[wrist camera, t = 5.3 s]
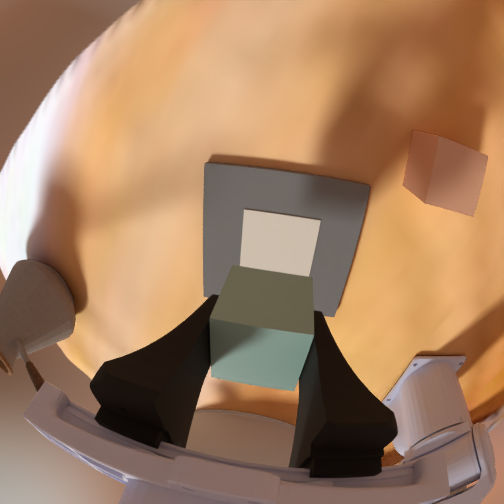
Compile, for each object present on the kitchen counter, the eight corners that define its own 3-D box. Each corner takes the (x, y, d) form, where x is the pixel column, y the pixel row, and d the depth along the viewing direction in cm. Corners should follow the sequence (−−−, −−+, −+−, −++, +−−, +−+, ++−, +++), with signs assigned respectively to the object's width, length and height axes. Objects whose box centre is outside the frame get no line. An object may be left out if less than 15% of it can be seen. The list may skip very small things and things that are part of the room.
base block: (297, 334, 15) (294, 391, 12) (229, 323, 16) (211, 377, 12) (312, 277, 13) (314, 335, 10) (232, 264, 14) (209, 317, 10)
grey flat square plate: (333, 312, 22) (334, 317, 22) (205, 292, 23) (203, 297, 23) (368, 184, 17) (371, 187, 16) (207, 161, 18) (204, 163, 17)
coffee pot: (46, 316, 32) (-9, 382, 19) (17, 248, 26) (-57, 311, 13) (163, 345, 28) (105, 460, 15) (134, 253, 23) (23, 380, 10)
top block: (446, 196, 16) (473, 216, 13) (402, 185, 16) (424, 203, 13) (457, 145, 14) (488, 156, 11) (412, 129, 15) (438, 135, 11)
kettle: (145, 411, 39) (99, 513, 20) (235, 385, 30) (186, 560, 10) (241, 463, 46) (221, 549, 26) (336, 447, 36) (327, 560, 17)
